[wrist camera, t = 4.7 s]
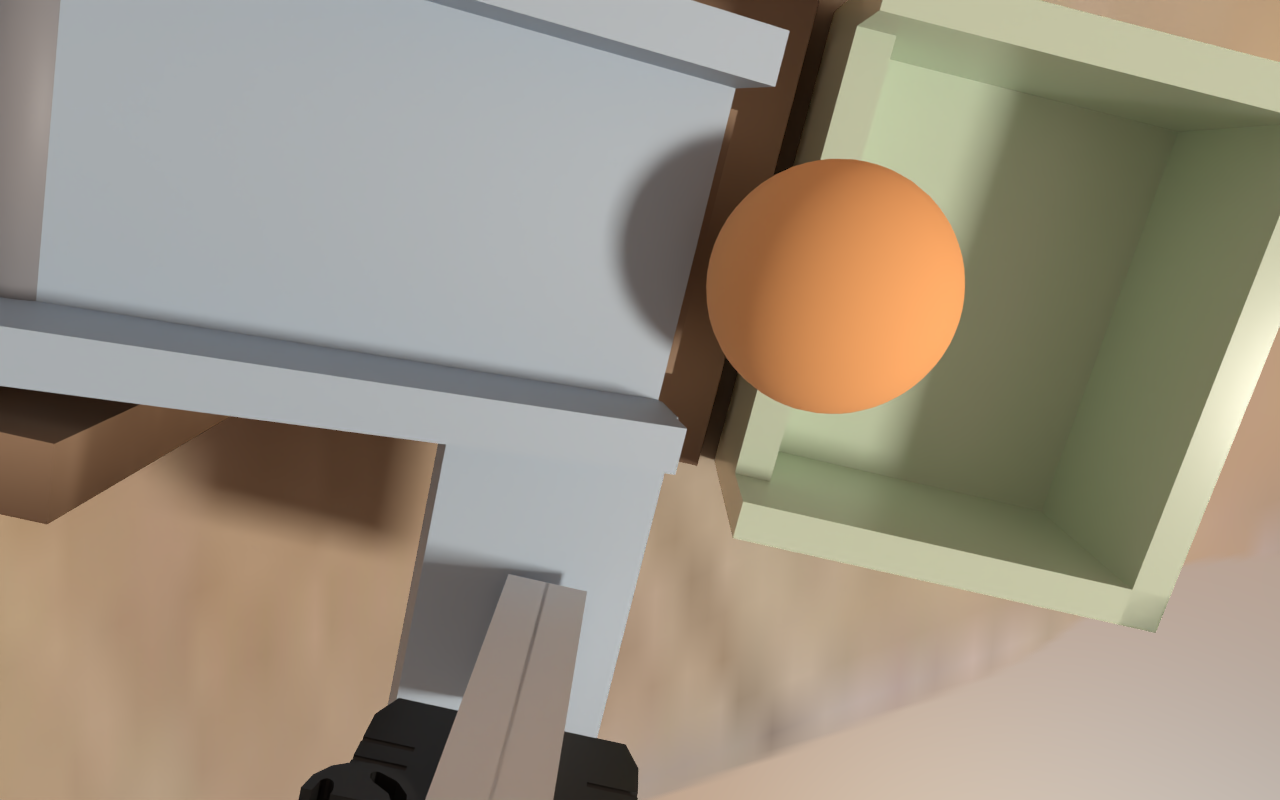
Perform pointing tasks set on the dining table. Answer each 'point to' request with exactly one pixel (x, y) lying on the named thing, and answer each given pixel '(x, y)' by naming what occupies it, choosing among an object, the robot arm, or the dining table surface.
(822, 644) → the dining table surface
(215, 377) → the lever
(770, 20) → the stand
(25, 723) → the dining table surface
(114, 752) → the dining table surface
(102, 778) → the dining table surface
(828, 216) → the ball
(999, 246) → the dish
